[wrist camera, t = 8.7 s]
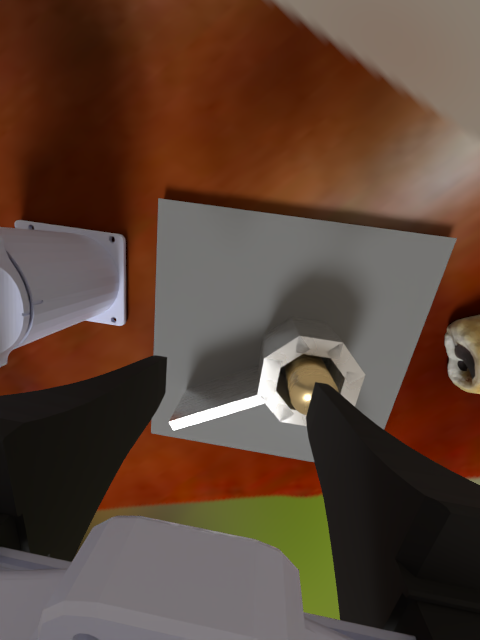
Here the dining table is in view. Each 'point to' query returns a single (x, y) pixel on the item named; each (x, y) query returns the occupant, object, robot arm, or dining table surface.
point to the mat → (283, 307)
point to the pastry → (464, 353)
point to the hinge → (273, 376)
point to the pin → (306, 379)
